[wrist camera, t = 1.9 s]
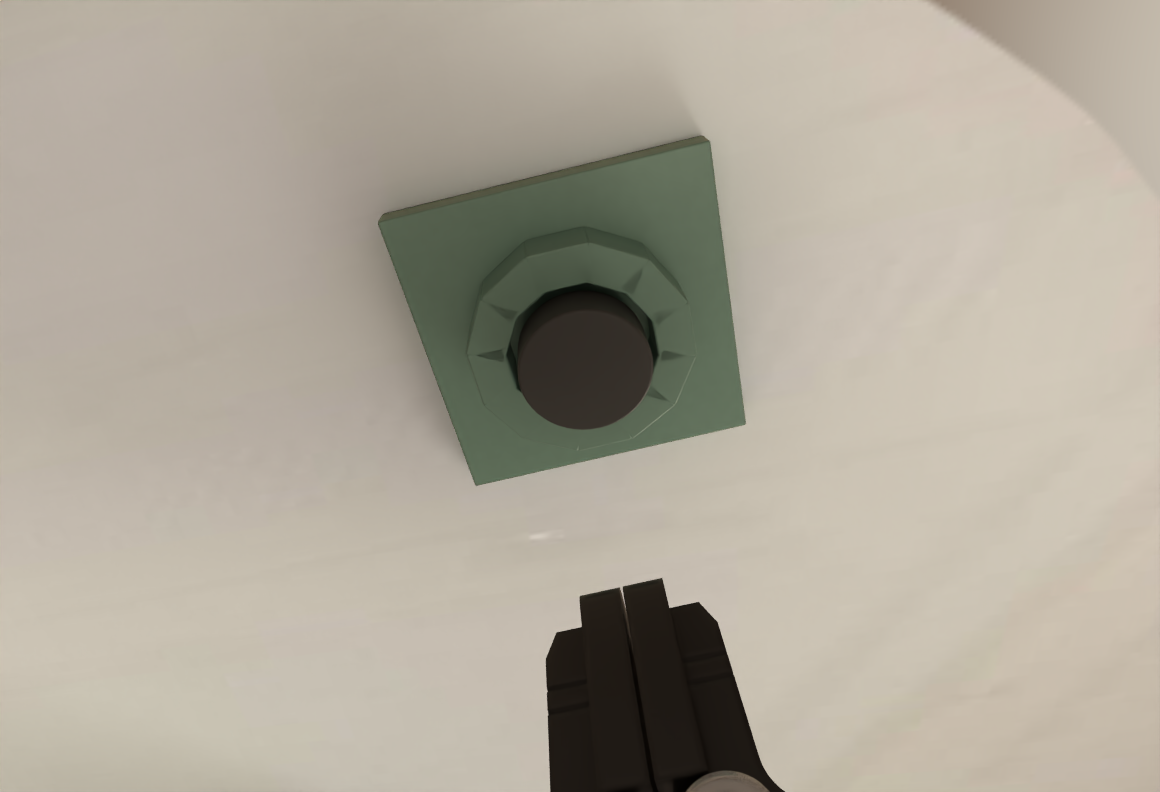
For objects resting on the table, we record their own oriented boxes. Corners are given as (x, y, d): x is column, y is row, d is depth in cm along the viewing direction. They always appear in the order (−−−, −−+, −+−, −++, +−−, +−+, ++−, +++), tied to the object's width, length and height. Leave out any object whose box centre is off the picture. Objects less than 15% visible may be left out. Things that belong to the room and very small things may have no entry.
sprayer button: (502, 306, 21) (501, 328, 20) (633, 275, 21) (640, 295, 20) (535, 417, 23) (536, 443, 22) (655, 389, 23) (664, 414, 22)
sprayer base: (382, 214, 22) (367, 239, 20) (703, 134, 22) (723, 151, 19) (476, 472, 27) (473, 514, 25) (739, 412, 26) (759, 450, 24)
